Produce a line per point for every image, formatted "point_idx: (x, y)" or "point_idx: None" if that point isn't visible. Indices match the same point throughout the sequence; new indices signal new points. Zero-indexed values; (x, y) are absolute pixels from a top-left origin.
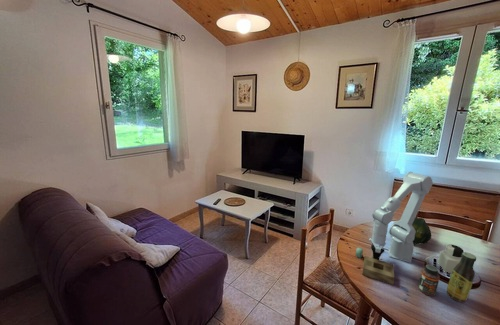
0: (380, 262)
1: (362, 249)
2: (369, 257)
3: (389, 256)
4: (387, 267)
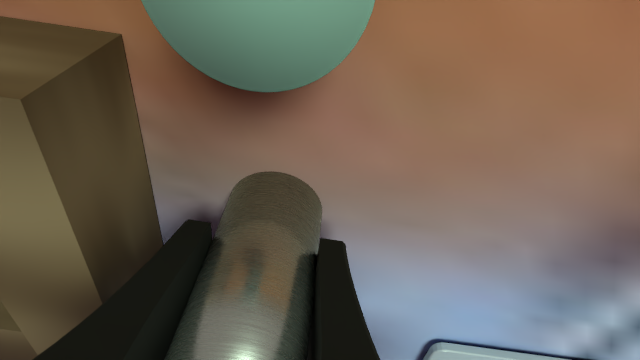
0: (52, 312)
1: (292, 77)
2: (52, 193)
3: (434, 346)
4: (3, 352)
